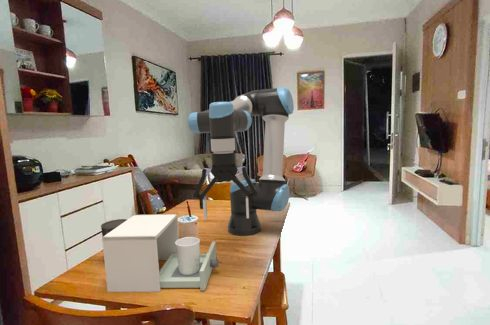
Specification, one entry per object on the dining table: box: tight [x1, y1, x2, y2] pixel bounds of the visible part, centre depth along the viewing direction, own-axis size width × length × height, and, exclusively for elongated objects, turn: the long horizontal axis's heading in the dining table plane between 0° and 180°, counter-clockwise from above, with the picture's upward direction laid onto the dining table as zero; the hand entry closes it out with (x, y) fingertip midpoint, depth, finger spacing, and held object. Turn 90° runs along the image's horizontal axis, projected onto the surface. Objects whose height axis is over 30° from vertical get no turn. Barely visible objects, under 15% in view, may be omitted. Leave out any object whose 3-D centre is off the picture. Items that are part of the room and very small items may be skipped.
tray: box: [159, 241, 219, 291], centre depth 101 cm, size 19×23×6 cm
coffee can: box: [100, 218, 129, 238], centre depth 113 cm, size 10×10×14 cm
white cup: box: [175, 236, 201, 275], centre depth 100 cm, size 8×8×10 cm
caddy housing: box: [101, 213, 180, 293], centre depth 101 cm, size 16×23×17 cm
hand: (226, 217), depth 98 cm, fingers open, 13 cm apart
